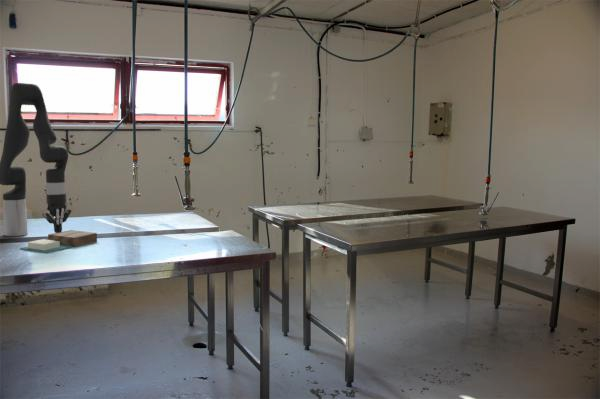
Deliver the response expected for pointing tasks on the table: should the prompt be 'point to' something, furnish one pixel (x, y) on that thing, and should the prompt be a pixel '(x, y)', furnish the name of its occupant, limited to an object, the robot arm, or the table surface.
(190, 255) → the table surface
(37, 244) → the cream rectangular tile
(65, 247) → the mat
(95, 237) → the deck
